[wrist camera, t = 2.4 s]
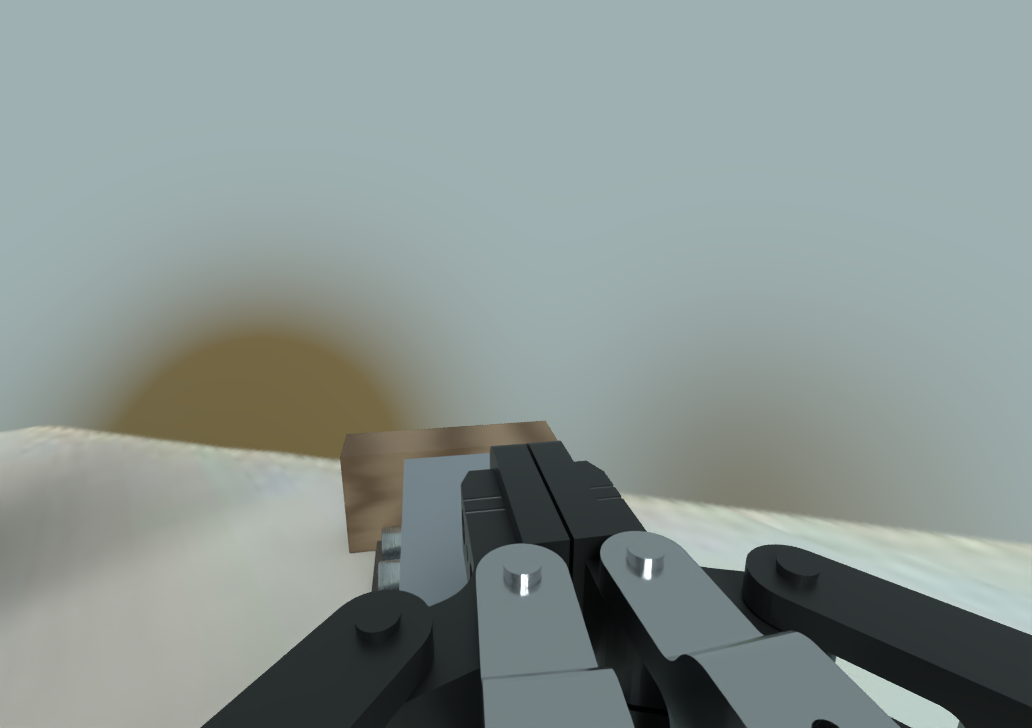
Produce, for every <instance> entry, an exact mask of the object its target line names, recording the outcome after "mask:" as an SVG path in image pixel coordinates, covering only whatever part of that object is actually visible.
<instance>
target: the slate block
mask: <svg viewBox="0 0 1032 728" xmlns="http://www.w3.org/2000/svg"><path fill="white" fill-rule="evenodd" d="M485 469H490V453H482V454H469V455H456V456H443V457H430V458H417V459H404V479H403V505H402V531H401V557H400V583H399V590H401V591H406V592H409V593H412V594H414V595H416V596H418V597H420V598H421V599H422V600H423V601H424V602H425V603H426V604H427V605H428V607H429V606H431V605H434V604H437V603H439V602H442V601H444V600H446V599H448V598H450V597H451V596H453V595H455V594H456V593H457V592H459V591H460V590H461V589H462V588H463V587H464V586H465V585H466V584H467V583H468V581H467V575H466V567H465V561H464V554H463V543H462V511H461V483H462V481H463V479H464V478H465V476H466V474H467V473H468V471H473V470H485Z"/></svg>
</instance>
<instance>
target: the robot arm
mask: <svg viewBox="0 0 1032 728" xmlns="http://www.w3.org/2000/svg"><path fill="white" fill-rule="evenodd" d="M461 511H462V543H463V554H464V561H465V567H466V575H467V581H468V583H467V584H466V585H465V586H464V587H463V588H462V589H461V590H460V591H459V592H457V593H456V594H455V595H453V596H451V597H450V598H448V599H446V600H444V601H442V602H439V603H437V604H434V605H431V606H429V607H428V605H427V604H426V603H425V602H424V601H423V600H422V599H421V598H420V597H418V596H416V595H414V594H412V593H409V592H406V591H401V590H379V591H374V592H370V593H366V594H363V595H361V596H358V597H356V598H354V599H352V600H351V601H349V602H347V603H346V604H344V605H343V606H342V607H340V608H339V609H338V610H337V611H336V612H334V613H333V614H332V615H331V616H330V617H329V618H327V619H326V620H325V621H324V622H323V623H322V624H320V625H319V626H318V627H317V628H316V629H315V630H313V631H312V632H311V633H310V634H309V635H308V636H306V637H305V638H304V639H303V640H302V641H301V642H299V643H298V644H297V645H296V646H295V647H294V648H293V649H291V650H290V651H289V652H288V653H287V654H286V655H284V656H283V657H282V658H281V659H280V660H279V661H277V662H276V663H275V664H274V665H273V666H272V667H270V668H269V669H268V670H267V671H266V672H265V673H263V674H262V675H261V676H260V677H259V678H258V679H256V680H255V681H254V682H253V683H252V684H251V685H250V686H248V687H247V688H246V689H245V690H244V691H243V692H241V693H240V694H239V695H238V696H237V697H236V698H234V699H233V700H232V701H231V702H230V703H229V704H227V705H226V706H225V707H224V708H223V709H222V710H220V711H219V712H218V713H217V714H216V715H215V716H213V717H212V718H211V719H210V720H209V721H208V722H207V723H205V724H204V725H203V726H202V727H201V728H911V727H909V726H907V725H905V724H903V723H901V722H899V721H897V720H895V719H893V718H891V717H889V716H888V715H887V714H886V713H885V712H884V711H883V710H882V709H881V708H880V707H879V706H878V705H877V704H876V703H875V702H874V701H873V700H872V699H871V698H870V697H869V696H868V695H867V694H866V693H865V692H864V691H863V690H862V689H861V688H860V687H859V686H858V685H857V684H856V683H855V682H854V681H853V680H852V679H851V678H850V677H849V676H848V675H847V674H846V673H845V672H844V671H843V670H842V669H841V668H840V667H839V666H837V665H836V664H835V661H836V656H837V657H839V658H841V659H844V660H846V661H848V662H850V663H852V664H854V665H856V666H858V667H860V668H862V669H865V670H867V671H869V672H871V673H873V674H875V675H877V676H879V677H881V678H883V679H886V680H888V681H890V682H892V683H894V684H896V685H898V686H900V687H902V688H904V689H906V690H909V691H911V692H913V693H915V694H917V695H919V696H921V697H923V698H925V699H927V700H930V701H932V702H934V703H936V704H938V705H940V706H942V707H943V708H945V709H946V710H948V711H949V712H951V713H952V714H953V715H954V716H956V717H957V719H958V720H959V724H958V728H1032V635H1030V634H1027V633H1024V632H1022V631H1019V630H1016V629H1014V628H1011V627H1008V626H1006V625H1003V624H1000V623H998V622H995V621H993V620H990V619H987V618H985V617H982V616H979V615H977V614H974V613H971V612H969V611H966V610H963V609H961V608H958V607H955V606H953V605H950V604H947V603H945V602H942V601H939V600H937V599H934V598H932V597H929V596H926V595H924V594H921V593H918V592H916V591H913V590H910V589H908V588H905V587H902V586H900V585H897V584H894V583H892V582H889V581H886V580H884V579H881V578H879V577H876V576H873V575H871V574H868V573H865V572H863V571H860V570H857V569H855V568H852V567H849V566H847V565H844V564H841V563H839V562H836V561H833V560H831V559H828V558H826V557H823V556H820V555H818V554H815V553H812V552H810V551H807V550H804V549H801V548H797V547H793V546H787V545H776V544H775V545H764V546H760V547H757V548H755V549H753V550H752V551H751V552H750V553H749V554H748V556H747V558H746V565H745V572H743V571H734V570H724V569H715V568H707V567H700V566H699V565H698V564H697V563H696V562H695V561H694V560H693V559H692V558H691V556H690V555H689V554H688V553H687V552H686V551H685V550H684V549H683V548H682V547H681V546H680V545H678V544H677V543H676V542H674V541H672V540H670V539H669V538H666V537H664V536H661V535H658V534H655V533H650V532H647V531H646V530H645V529H644V527H643V526H642V524H641V523H640V522H639V520H638V519H637V517H636V516H635V515H634V513H633V512H632V510H631V509H630V508H629V506H628V505H627V503H626V502H625V501H624V499H621V495H620V494H619V492H618V491H617V489H616V488H615V487H613V484H612V482H611V481H610V479H609V478H608V477H607V475H606V474H605V472H604V471H602V470H601V469H599V468H597V467H596V466H594V465H592V464H591V463H589V462H588V461H578V462H574V461H573V460H572V458H571V456H570V455H569V453H568V452H567V450H566V449H565V447H564V445H563V444H562V442H561V441H548V442H535V443H527V444H525V443H524V444H511V445H498V446H491V447H490V469H485V470H473V471H468V473H467V474H466V476H465V478H464V479H463V481H462V483H461Z"/></svg>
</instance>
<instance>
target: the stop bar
mask: <svg viewBox="0 0 1032 728" xmlns="http://www.w3.org/2000/svg"><path fill="white" fill-rule="evenodd" d="M548 441H557V439H556V437H555V436H554V434H553V432H552V431H551V429H550V427H549V426H548V424H547V422H546V421H536V422H523V423H522V422H521V423H506V424H491V425H476V426H462V427H448V428H433V429H417V430H403V431H388V432H374V433H358V434H347V435H346V439H345V442H344V446H343V449H342V452H341V456H340V461H341V471H342V481H343V492H344V502H345V512H346V522H347V532H348V542H349V552H350V553H356V552H365V551H375V550H376V547H377V541H382V539H381V536H382V527H391V526H401V525H402V505H403V479H404V459H417V458H430V457H443V456H456V455H469V454H482V453H490V447H491V446H498V445H511V444H524V443H525V444H527V443H535V442H548Z"/></svg>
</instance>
